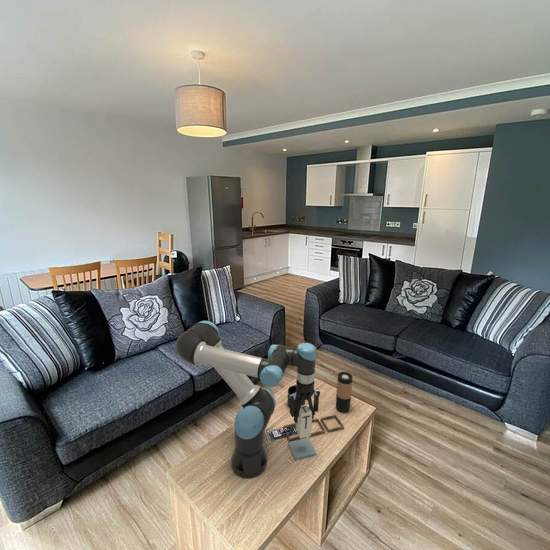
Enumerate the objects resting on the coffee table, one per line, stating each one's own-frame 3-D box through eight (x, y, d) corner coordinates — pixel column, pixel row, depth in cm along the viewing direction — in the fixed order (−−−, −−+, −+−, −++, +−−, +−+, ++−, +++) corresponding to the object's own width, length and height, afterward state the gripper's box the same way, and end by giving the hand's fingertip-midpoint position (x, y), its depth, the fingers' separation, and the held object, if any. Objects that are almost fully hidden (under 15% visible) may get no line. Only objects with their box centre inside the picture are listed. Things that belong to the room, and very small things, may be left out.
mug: (311, 403, 160) (312, 388, 158) (296, 413, 152) (297, 398, 150) (298, 395, 167) (299, 381, 164) (283, 404, 159) (284, 390, 156)
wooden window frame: (308, 437, 137) (308, 434, 137) (302, 424, 145) (302, 421, 144) (325, 433, 139) (325, 430, 139) (317, 420, 147) (317, 418, 147)
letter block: (300, 438, 124) (300, 414, 122) (295, 429, 129) (296, 406, 126) (310, 435, 126) (312, 412, 123) (306, 427, 131) (307, 404, 128)
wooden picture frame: (288, 441, 134) (288, 438, 134) (283, 428, 142) (283, 425, 142) (305, 437, 136) (306, 435, 136) (299, 424, 144) (299, 422, 144)
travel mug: (334, 403, 160) (336, 371, 155) (348, 404, 160) (351, 371, 155) (336, 413, 153) (339, 379, 148) (351, 413, 152) (354, 380, 148)
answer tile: (295, 460, 124) (295, 458, 124) (288, 444, 133) (288, 442, 132) (316, 455, 127) (316, 453, 127) (308, 439, 136) (308, 437, 135)
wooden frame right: (328, 432, 140) (328, 430, 139) (320, 420, 148) (320, 417, 147) (343, 429, 142) (343, 426, 142) (335, 417, 150) (335, 414, 150)
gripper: (287, 388, 115) (286, 437, 121) (329, 381, 120) (325, 428, 126) (282, 378, 122) (281, 424, 128) (321, 371, 127) (318, 416, 133)
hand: (303, 426), depth 127 cm, fingers closed on letter block, 5 cm apart
